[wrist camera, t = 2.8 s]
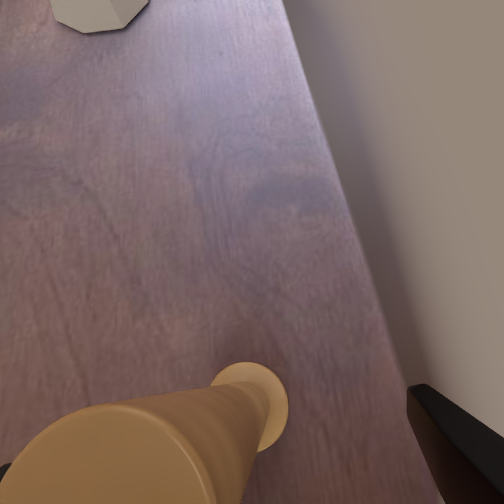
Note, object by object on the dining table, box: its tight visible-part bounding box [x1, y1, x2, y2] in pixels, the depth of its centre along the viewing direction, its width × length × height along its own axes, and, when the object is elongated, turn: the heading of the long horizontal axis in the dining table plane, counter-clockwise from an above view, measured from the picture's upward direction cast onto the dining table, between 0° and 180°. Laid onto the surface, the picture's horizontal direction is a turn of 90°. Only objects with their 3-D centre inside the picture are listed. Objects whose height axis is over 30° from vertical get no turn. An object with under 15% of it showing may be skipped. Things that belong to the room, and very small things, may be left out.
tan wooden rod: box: [0, 362, 289, 504], centre depth 10 cm, size 4×4×14 cm
